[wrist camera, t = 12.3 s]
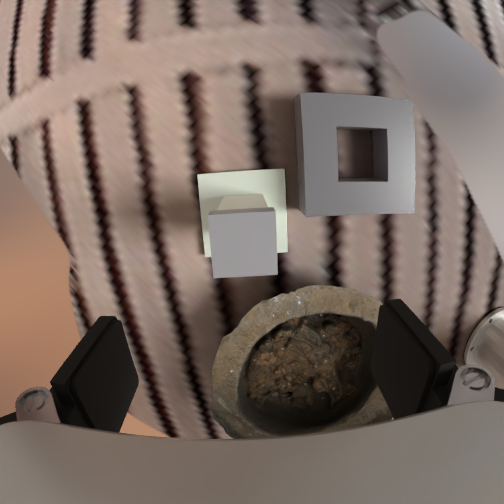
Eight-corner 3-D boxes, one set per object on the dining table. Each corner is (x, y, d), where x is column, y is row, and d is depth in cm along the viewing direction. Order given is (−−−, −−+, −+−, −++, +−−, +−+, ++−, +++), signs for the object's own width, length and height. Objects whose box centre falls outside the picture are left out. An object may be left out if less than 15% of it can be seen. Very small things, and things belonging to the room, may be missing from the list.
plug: (265, 190, 32) (275, 211, 21) (267, 233, 33) (277, 274, 22) (221, 193, 32) (207, 215, 21) (224, 236, 33) (213, 278, 22)
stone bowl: (285, 436, 45) (287, 479, 36) (179, 334, 40) (159, 375, 31) (418, 358, 40) (444, 395, 31) (336, 223, 35) (359, 242, 27)
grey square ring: (395, 104, 30) (412, 100, 26) (397, 206, 33) (414, 213, 30) (293, 99, 30) (300, 92, 26) (299, 209, 33) (305, 216, 30)
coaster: (283, 168, 32) (284, 168, 31) (286, 249, 35) (287, 252, 34) (198, 174, 32) (197, 174, 31) (206, 254, 35) (205, 257, 34)
